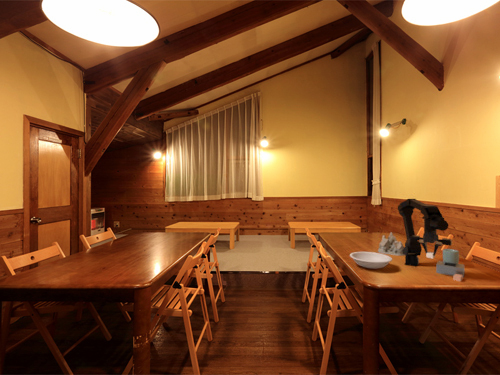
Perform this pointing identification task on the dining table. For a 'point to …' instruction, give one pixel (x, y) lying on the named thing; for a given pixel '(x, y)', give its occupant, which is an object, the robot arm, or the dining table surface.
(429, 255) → the white rectangular block
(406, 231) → the robot arm
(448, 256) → the cup
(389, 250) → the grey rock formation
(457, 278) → the pink rectangular block
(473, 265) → the dining table surface
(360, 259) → the soup bowl
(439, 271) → the box
